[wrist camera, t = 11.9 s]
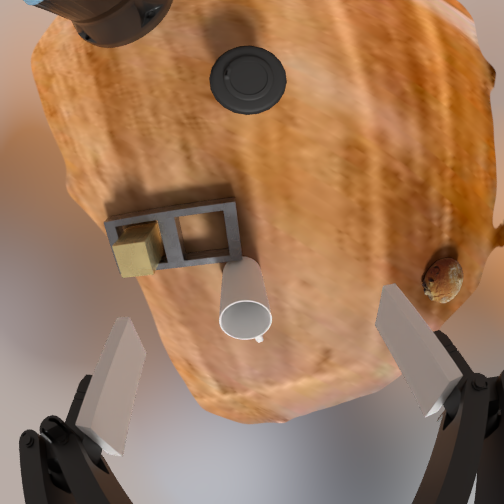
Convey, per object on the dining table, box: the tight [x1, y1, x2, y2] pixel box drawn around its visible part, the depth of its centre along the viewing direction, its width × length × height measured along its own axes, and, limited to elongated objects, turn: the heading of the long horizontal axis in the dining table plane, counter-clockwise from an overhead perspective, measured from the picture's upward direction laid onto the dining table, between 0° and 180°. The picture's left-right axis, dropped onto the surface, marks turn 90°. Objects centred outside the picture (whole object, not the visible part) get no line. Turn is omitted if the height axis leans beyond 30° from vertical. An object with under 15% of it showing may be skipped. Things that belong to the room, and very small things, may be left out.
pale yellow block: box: [112, 223, 164, 278], centre depth 39 cm, size 5×5×7 cm
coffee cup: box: [209, 46, 287, 115], centre depth 28 cm, size 8×8×10 cm
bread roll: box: [422, 257, 463, 303], centre depth 48 cm, size 10×10×8 cm
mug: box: [219, 256, 272, 342], centre depth 41 cm, size 10×7×12 cm, turn 22°
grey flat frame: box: [104, 197, 243, 274], centre depth 40 cm, size 9×20×2 cm, turn 96°
